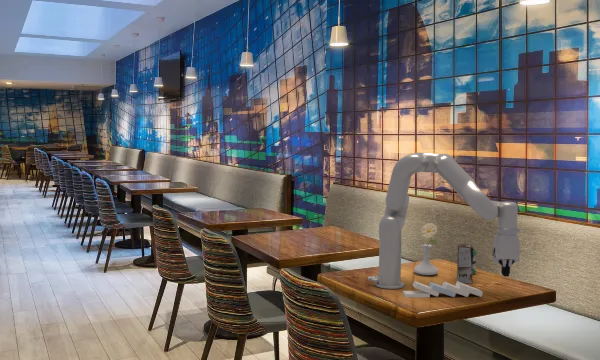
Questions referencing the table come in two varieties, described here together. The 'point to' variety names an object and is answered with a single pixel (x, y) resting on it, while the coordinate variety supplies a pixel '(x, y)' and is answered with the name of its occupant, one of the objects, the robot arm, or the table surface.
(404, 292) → the domino
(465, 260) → the coffee box
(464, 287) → the domino
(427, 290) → the domino
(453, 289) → the domino
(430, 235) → the flower in vase
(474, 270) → the beverage can
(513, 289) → the table surface
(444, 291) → the domino
